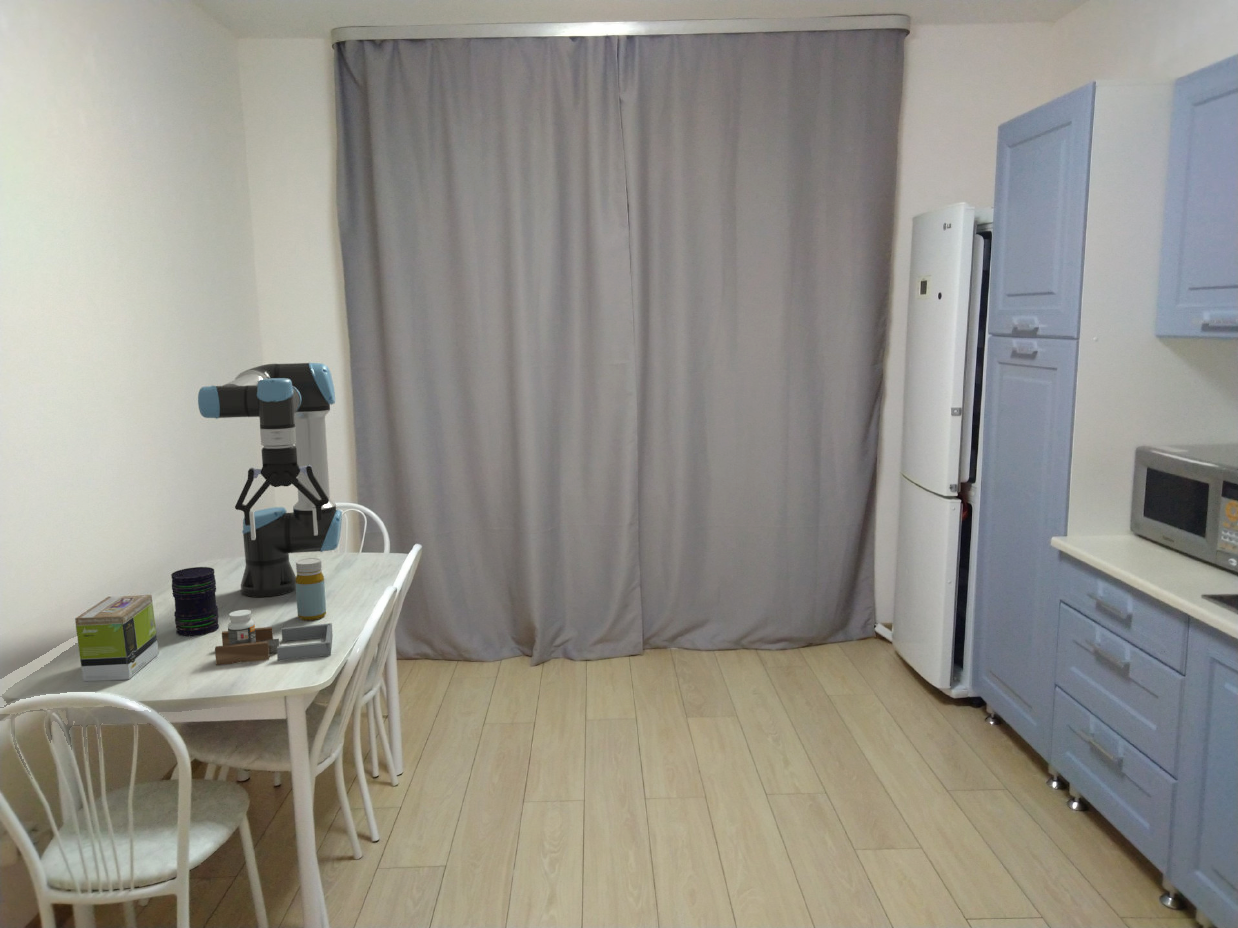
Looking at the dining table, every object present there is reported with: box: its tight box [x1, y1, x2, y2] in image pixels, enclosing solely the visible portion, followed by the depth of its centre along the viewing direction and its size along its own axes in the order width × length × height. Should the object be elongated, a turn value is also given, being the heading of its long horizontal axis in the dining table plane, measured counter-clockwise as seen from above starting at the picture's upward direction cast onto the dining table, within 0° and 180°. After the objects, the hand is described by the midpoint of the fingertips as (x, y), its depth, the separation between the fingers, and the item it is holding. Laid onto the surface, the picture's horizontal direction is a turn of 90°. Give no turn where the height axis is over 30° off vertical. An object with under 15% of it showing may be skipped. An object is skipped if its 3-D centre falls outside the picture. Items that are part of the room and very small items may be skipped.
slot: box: [214, 626, 274, 666], centre depth 203 cm, size 11×11×4 cm
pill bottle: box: [227, 609, 256, 645], centre depth 202 cm, size 6×6×10 cm
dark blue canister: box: [170, 566, 220, 638], centre depth 218 cm, size 10×10×15 cm
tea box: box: [74, 594, 159, 683], centre depth 194 cm, size 15×10×15 cm, turn 5°
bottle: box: [295, 557, 327, 621], centre depth 227 cm, size 7×7×15 cm
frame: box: [276, 622, 334, 662], centre depth 207 cm, size 14×12×3 cm
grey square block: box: [260, 638, 280, 656], centre depth 204 cm, size 4×4×2 cm
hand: (285, 536), depth 204 cm, fingers open, 13 cm apart
